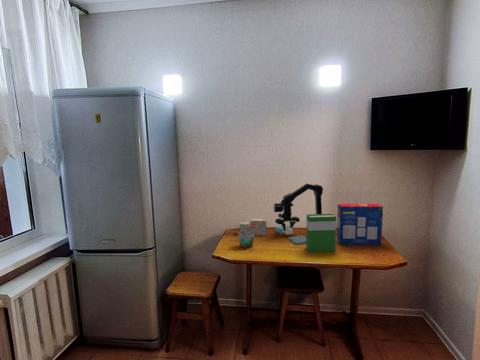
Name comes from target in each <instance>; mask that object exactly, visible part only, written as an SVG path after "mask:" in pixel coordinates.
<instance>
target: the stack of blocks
mask: <svg viewBox="0 0 480 360" xmlns="http://www.w3.org/2000/svg"><path fill="white" fill-rule="evenodd" d="M267 226H268V225H267V218H251V219H250V221H240V222H239V233H247V234H253V233H254V236H267V228H268V227H267Z"/></svg>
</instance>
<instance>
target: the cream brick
mask: <svg viewBox="0 0 480 360" xmlns="http://www.w3.org/2000/svg"><path fill="white" fill-rule="evenodd" d="M282 232H284V233H283V234H286V235H292V234H294V228H291V227H290V225H285V231H284V230H283V227H282Z"/></svg>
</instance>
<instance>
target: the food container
mask: <svg viewBox="0 0 480 360" xmlns="http://www.w3.org/2000/svg"><path fill="white" fill-rule="evenodd" d="M237 237H238V241H239V247H240V248H241V249H243V250H246V249H247V250H248V249H251V248H253V245H254V238H255V235H254V233H253V234H247V233H240V231H238V232H237Z"/></svg>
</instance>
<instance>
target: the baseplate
mask: <svg viewBox="0 0 480 360" xmlns="http://www.w3.org/2000/svg"><path fill="white" fill-rule="evenodd" d="M288 241H290V242H292V243H293V244H294V245H296V246H298V245H304V244H305V245H306V236H304V235H296V236H288Z"/></svg>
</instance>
